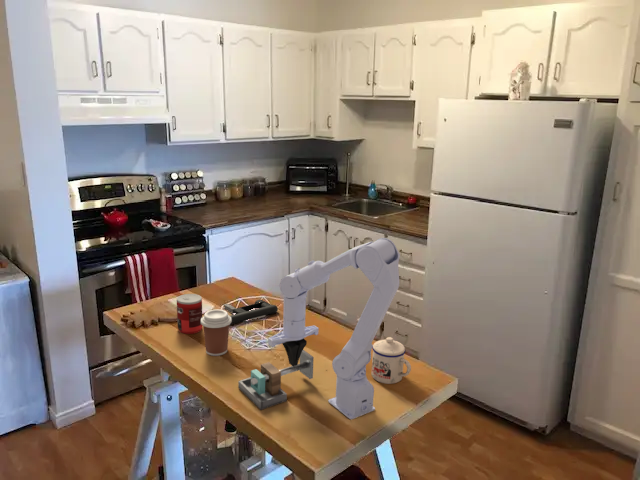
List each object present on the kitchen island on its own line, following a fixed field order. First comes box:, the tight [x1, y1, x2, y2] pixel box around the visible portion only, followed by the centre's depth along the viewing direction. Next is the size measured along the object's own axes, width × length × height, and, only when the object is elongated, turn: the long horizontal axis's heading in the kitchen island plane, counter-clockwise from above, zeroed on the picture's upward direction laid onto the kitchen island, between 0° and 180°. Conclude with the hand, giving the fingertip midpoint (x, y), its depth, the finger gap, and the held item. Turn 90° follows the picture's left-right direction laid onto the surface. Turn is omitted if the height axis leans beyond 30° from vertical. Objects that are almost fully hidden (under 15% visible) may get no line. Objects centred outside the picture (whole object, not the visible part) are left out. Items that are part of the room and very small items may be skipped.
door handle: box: [223, 299, 279, 325], centre depth 187 cm, size 3×20×16 cm
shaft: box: [251, 349, 315, 385], centre depth 139 cm, size 5×17×6 cm, turn 126°
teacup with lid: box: [371, 336, 412, 385], centre depth 146 cm, size 12×9×12 cm
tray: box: [237, 376, 288, 411], centre depth 137 cm, size 12×8×2 cm, turn 36°
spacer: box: [250, 368, 265, 395], centre depth 135 cm, size 5×2×5 cm, turn 36°
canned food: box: [176, 293, 203, 335], centre depth 171 cm, size 8×8×11 cm
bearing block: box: [260, 361, 282, 396], centre depth 137 cm, size 6×2×7 cm, turn 36°
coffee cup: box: [201, 309, 232, 357], centre depth 157 cm, size 9×9×12 cm
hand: (293, 364), depth 141 cm, fingers closed
